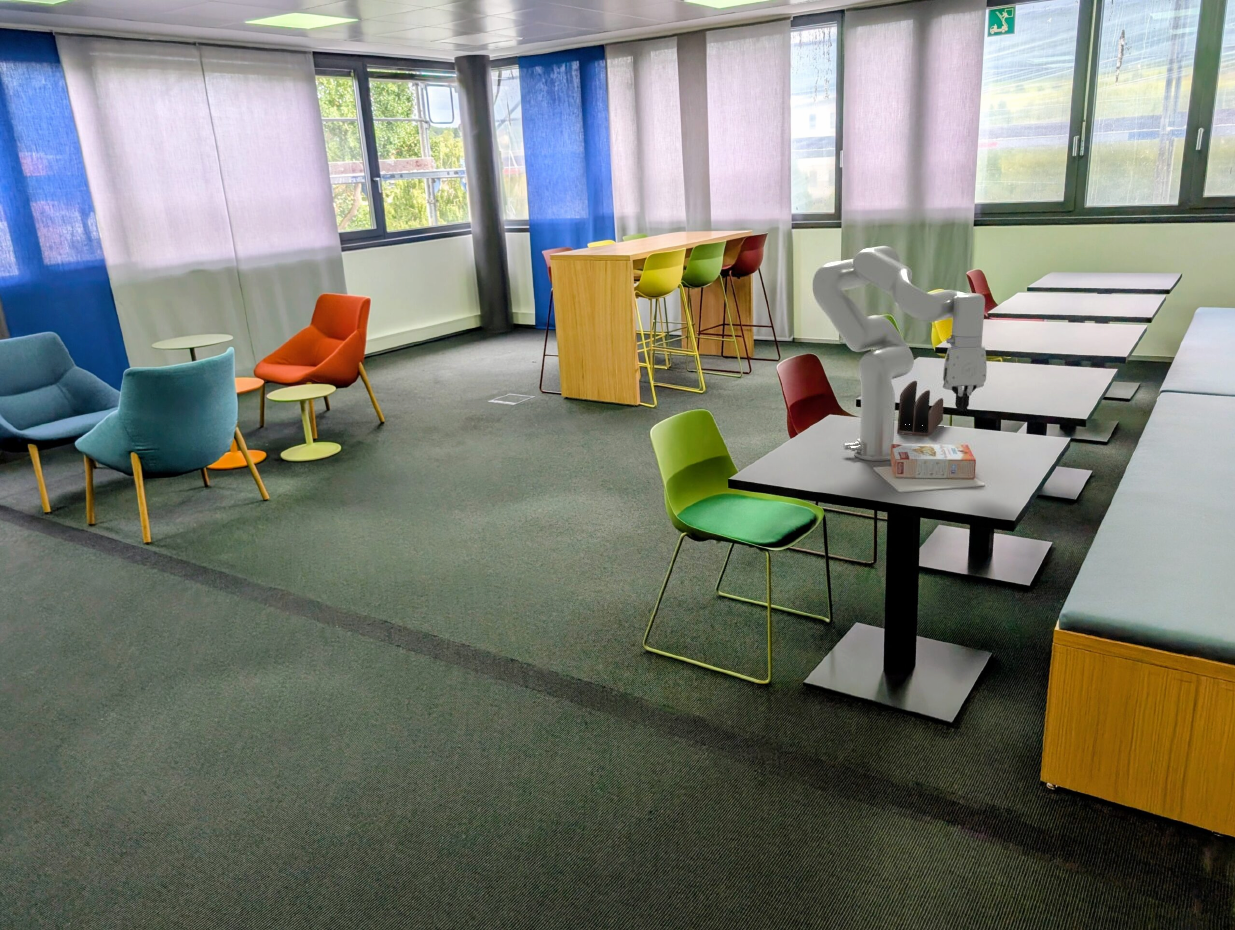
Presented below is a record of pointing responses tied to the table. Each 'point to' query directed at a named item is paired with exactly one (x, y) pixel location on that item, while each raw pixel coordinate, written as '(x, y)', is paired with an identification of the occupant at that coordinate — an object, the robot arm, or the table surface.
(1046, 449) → the table surface
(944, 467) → the cracker box
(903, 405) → the letter holder
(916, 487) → the mat
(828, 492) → the table surface
